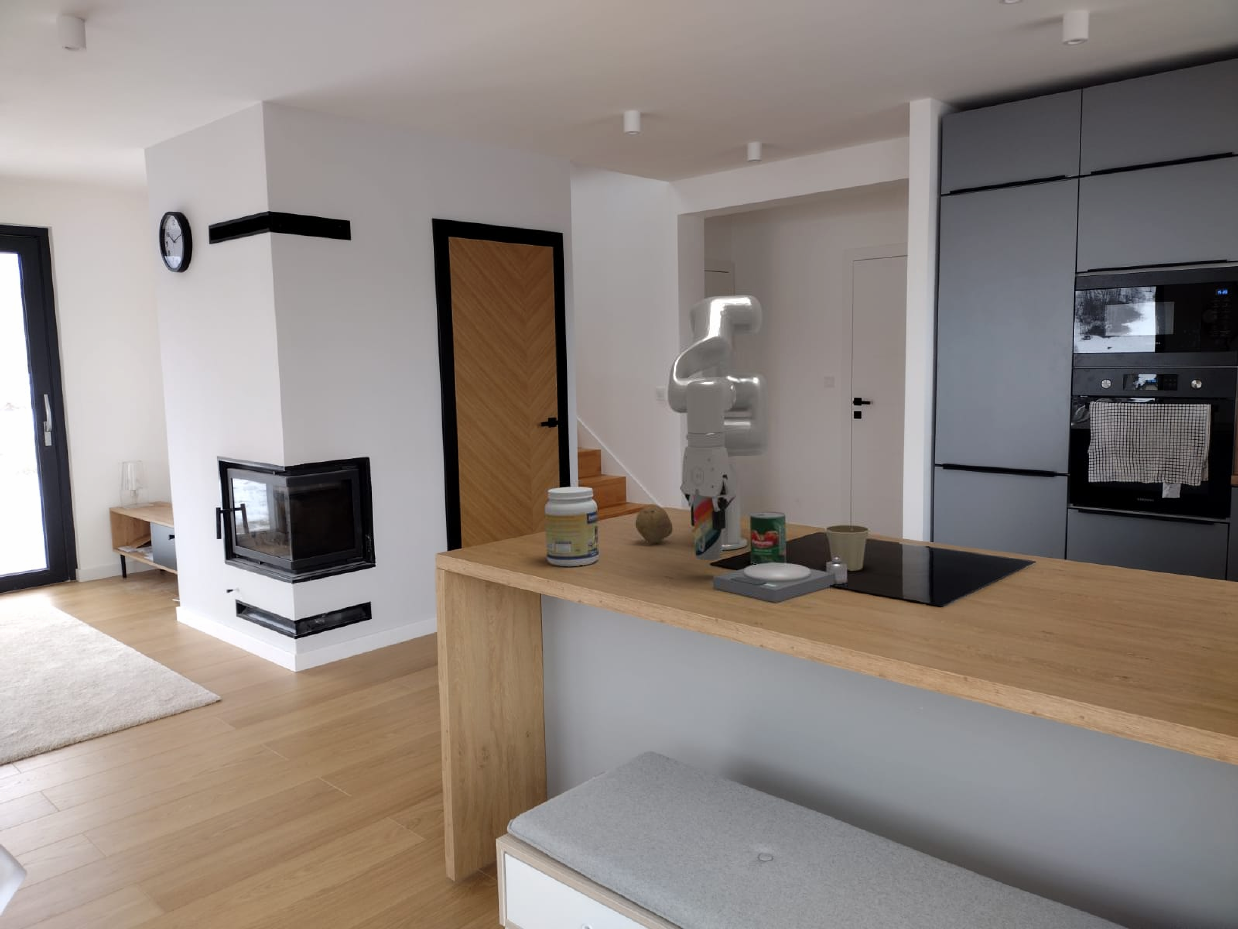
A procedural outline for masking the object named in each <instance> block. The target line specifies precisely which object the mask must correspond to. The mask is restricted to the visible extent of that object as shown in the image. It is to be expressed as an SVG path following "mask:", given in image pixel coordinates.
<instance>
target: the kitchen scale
mask: <svg viewBox="0 0 1238 929" xmlns="http://www.w3.org/2000/svg"><path fill="white" fill-rule="evenodd" d="M833 584H835V573H830V572H826V571H822V570H818V569H813V568H809V567H807V566H803V565H800V564H794V563H787V562H786V563H776V562H769V563H764V564H756V565H754V564H751V565H749V566H746V567H745V568H741V569H738V570H734V571H729V572H725V573H722V574H717V575H713V576H712V589H714V590H718V589H719V591H724V592H727V593H731V592H732V594H736V595H741V596H745V597H748V598H749V597H750V598H752V599H758V600H762V601H765V602H771V603H775V604H776V603H779V602H783V601H786V600H790V599H793V598H798V597H799V596H803V595H806V594H810V593H813V592H816V591H821V590H824V589H828V588H830V585H833Z"/></svg>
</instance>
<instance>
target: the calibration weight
mask: <svg viewBox="0 0 1238 929" xmlns="http://www.w3.org/2000/svg"><path fill="white" fill-rule="evenodd" d="M825 565H826V567H825V570H826V571H825V572H830V573H835V583H836V584H842V583H846V582H847V583H848V570H847V563H845V562H841V557H832V559H831V561H828V562H826V564H825Z"/></svg>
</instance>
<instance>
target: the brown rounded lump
mask: <svg viewBox="0 0 1238 929" xmlns="http://www.w3.org/2000/svg"><path fill="white" fill-rule="evenodd" d="M635 528H636V530H637V531H638V533H639V534H640V535H641V537H643V539H644V540H645V541H647V542H649V543H650V544H652V545H653V544H654V545H655V544H659V543H660V542H662V541H663V540H664V539H665V538H668V537H669V536H670V535H671V534H672V533H673V524H672V521H671V519H670V517H669V515H668V513H667V512H666V510H665V509H664V508H663V507H662V506H660V505H658V504H654V503H651V504H647V505H646V506H643V507H642V508H641V509H640V510H639V512H638V513H637V515H636V518H635Z"/></svg>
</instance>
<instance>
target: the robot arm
mask: <svg viewBox="0 0 1238 929" xmlns="http://www.w3.org/2000/svg"><path fill="white" fill-rule="evenodd" d="M689 322H690V326H691V331H692V334H693V338H692V339H693V340H692V344H690V345H689V346H687V347H686V348H685V349H684V350H683V351H682V352H681V353H680V354H678V356H676V359H675V360H674V361H673V363H672V365H671V367H670V372H669V377H668V378H669V379H668V387H667V401H668V405H669V407H670V409H671V410H672V411H673V412H675V413H678V414H686V422H687V423H686V425H687V426H686V427H687V428H686V429H687V433H686V436H685V438H686V440H687V446H685V448H684V452H683V458H682V459H683V460H682V474H681V477H682V480H681V481H682V482H681V483H682V484H681V486H680V487H679V489H680V492H681V493H682V494H683V495H684V498H685V499H686V501H687V502H688V507H689V508H690V523H691V526H692V527H693V528H692V533H693V534H694V508H693V495H695V490H696V489H698V490H699V495H701V496H703V497H708V498H712V502H713V506H714V509H715V511H712V524H713V530H720V529H722V551H725V550H726V551H727V550H728V551H729V550H736V549H743V548H744V547H746V546H747V545H748V540H747V539H746V538H744V537H741V535H742V534H741V496H740V495H741V493H740V491H741V486H740V481H741V480H740V473H739V470H738V468H737V467H736V466H735V464H734V463H733V462H731V460H730V459H729V457H752V456H753V457H754V456H762V455H764V454H765V453H766V452H767V451H768V447H769V441H770V440H769V439H770V438H769V432H770V431H769V429H770V428H769V392H768V385H767V381H766V379H765V377H764V376H763V375H762V374H760V373H755V372H745V373H744V372H740V373H738V371H737V370H738V368H737V367H738V366H737V364H738V363H737V362H738V361H737V353H736V351H735V350H734V348H733V347H732V335H734V336H735V335H755V334H757V333H758V332H759V331H760V329H761V327H762V322H763V311H762V306H761V303H760V301H759V300H758V298H756V297H755V296H753V295H748V294H741V295H740V294H739V295H738V294H737V295H736V294H735V295H717V296H709V297H706V298H704V299H703V300H701V301H700V302H696V303H695V304H693V305H692V307H690V311H689ZM698 372H701V376H700V377H698V376H697V377H691V376H693V375H694V374H697V373H698ZM725 413H746V414H748V415H749V416H725ZM718 498H720V503H719V501H718Z"/></svg>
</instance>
